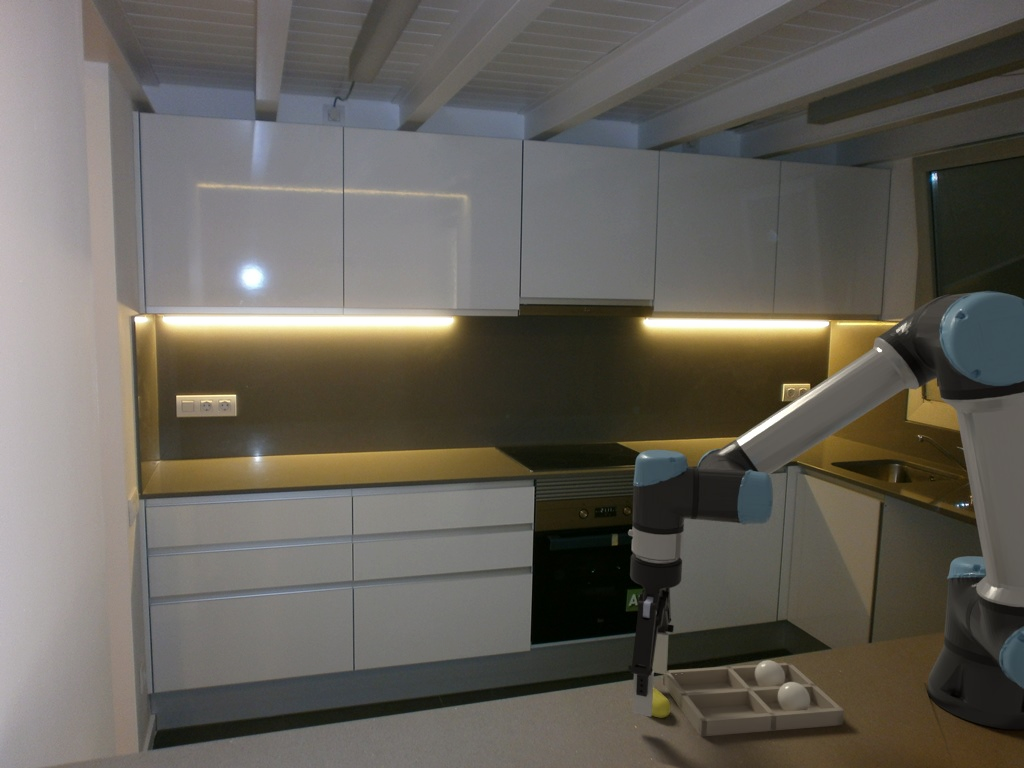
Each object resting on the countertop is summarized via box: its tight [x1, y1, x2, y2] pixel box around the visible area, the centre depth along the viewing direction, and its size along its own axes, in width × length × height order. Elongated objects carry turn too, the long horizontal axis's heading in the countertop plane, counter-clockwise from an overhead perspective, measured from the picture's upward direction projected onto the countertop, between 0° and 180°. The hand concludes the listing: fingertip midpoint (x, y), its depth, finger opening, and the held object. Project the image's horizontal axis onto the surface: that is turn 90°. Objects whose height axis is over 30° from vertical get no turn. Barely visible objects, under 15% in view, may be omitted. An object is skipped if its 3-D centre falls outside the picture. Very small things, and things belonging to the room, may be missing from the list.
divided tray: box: [662, 662, 845, 737], centre depth 115 cm, size 22×15×3 cm
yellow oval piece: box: [651, 686, 672, 719], centre depth 114 cm, size 4×8×4 cm, turn 20°
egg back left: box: [778, 682, 810, 712], centre depth 113 cm, size 5×5×5 cm
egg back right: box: [755, 659, 785, 687], centre depth 120 cm, size 5×5×5 cm
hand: (650, 691), depth 114 cm, fingers open, 12 cm apart
